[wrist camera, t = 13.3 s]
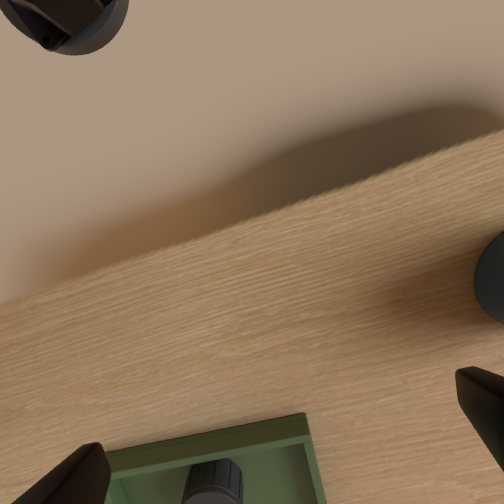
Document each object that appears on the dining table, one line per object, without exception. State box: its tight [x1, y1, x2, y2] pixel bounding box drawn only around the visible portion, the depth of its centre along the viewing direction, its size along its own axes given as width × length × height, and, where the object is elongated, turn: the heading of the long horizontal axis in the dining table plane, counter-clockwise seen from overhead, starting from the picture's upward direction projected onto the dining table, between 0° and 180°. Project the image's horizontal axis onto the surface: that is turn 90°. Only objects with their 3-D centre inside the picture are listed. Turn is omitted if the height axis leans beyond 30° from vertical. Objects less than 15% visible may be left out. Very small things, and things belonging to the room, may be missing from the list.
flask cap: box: [181, 458, 244, 504], centre depth 22 cm, size 4×4×3 cm
